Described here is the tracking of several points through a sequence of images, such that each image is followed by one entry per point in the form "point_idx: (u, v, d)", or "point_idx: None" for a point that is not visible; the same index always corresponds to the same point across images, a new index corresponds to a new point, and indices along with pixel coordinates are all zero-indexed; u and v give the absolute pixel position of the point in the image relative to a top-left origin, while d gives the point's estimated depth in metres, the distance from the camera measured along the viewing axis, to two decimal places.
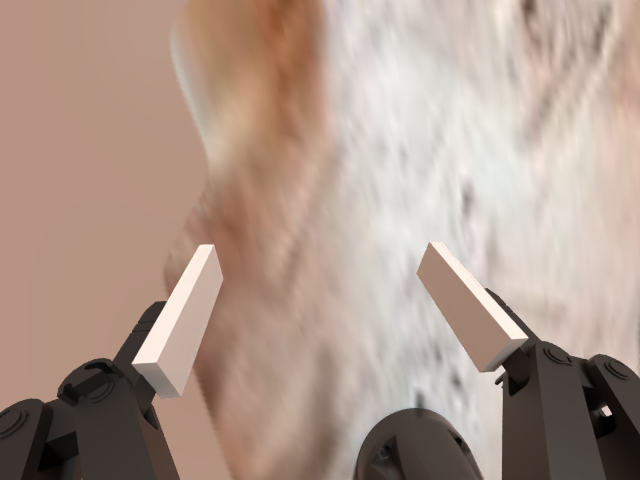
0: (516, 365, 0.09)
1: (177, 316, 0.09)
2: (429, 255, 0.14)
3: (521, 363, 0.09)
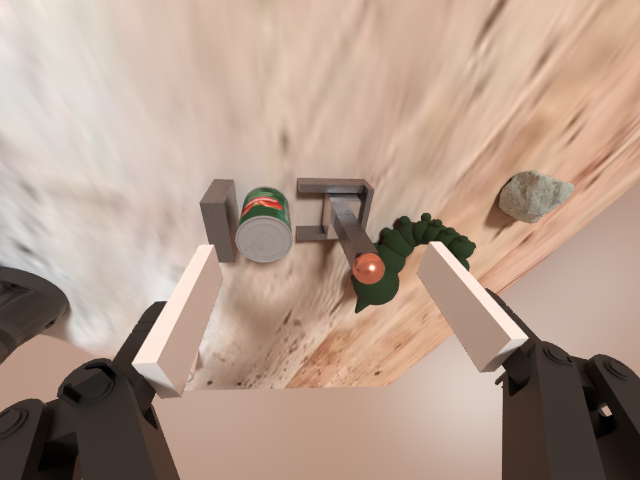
0: (516, 365, 0.09)
1: (177, 316, 0.09)
2: (429, 255, 0.14)
3: (521, 363, 0.09)
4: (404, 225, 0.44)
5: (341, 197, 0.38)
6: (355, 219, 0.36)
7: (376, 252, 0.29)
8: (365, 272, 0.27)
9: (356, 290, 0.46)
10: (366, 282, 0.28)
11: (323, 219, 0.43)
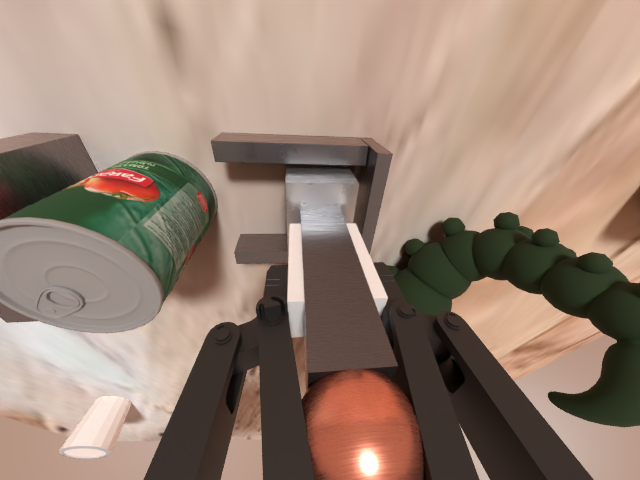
0: None
1: (301, 273, 0.11)
2: None
3: (386, 327, 0.10)
4: (453, 237, 0.22)
5: (314, 174, 0.16)
6: (342, 227, 0.15)
7: (391, 365, 0.08)
8: None
9: None
10: None
11: None
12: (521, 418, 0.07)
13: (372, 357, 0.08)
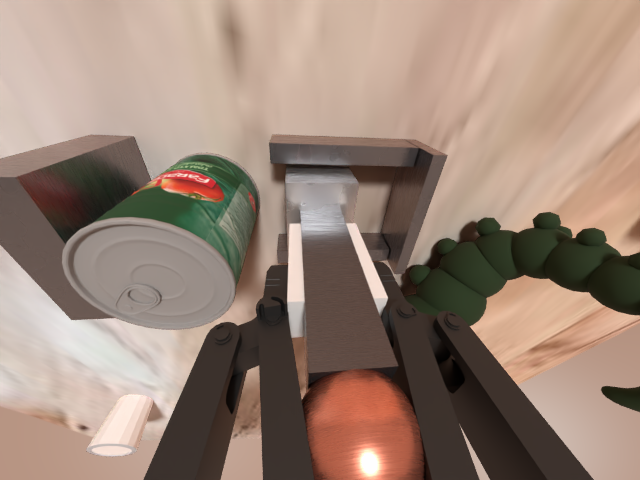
0: None
1: (301, 273, 0.11)
2: None
3: (386, 327, 0.10)
4: (490, 236, 0.22)
5: (314, 174, 0.16)
6: (342, 227, 0.15)
7: (392, 366, 0.08)
8: None
9: None
10: None
11: None
12: (521, 418, 0.07)
13: (372, 357, 0.08)
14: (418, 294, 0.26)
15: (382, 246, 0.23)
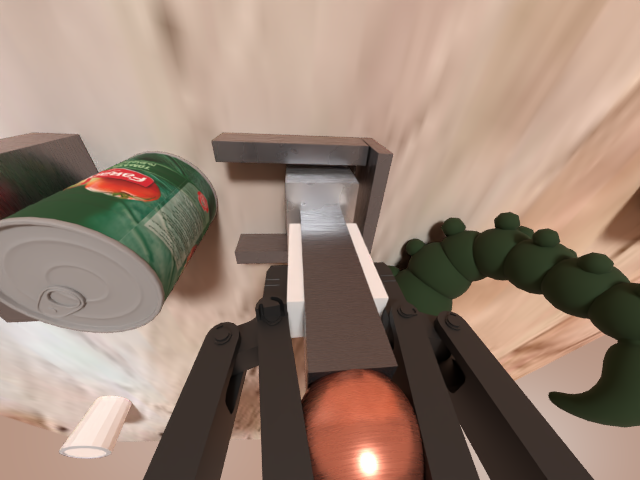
0: (385, 330, 0.10)
1: (301, 273, 0.11)
2: None
3: (387, 327, 0.10)
4: (454, 237, 0.22)
5: (314, 174, 0.16)
6: (342, 227, 0.15)
7: (391, 366, 0.08)
8: None
9: None
10: None
11: None
12: (522, 418, 0.07)
13: (372, 357, 0.08)
14: None
15: None
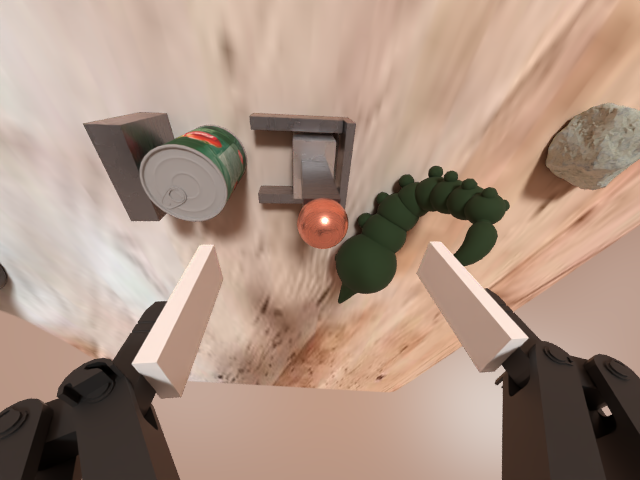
0: (516, 365, 0.09)
1: (177, 316, 0.09)
2: (429, 255, 0.14)
3: (521, 363, 0.09)
4: (405, 186, 0.32)
5: (310, 137, 0.27)
6: (325, 165, 0.25)
7: (338, 199, 0.18)
8: (309, 224, 0.16)
9: (338, 273, 0.35)
10: (314, 244, 0.17)
11: None
12: None
13: (330, 197, 0.18)
14: None
15: None
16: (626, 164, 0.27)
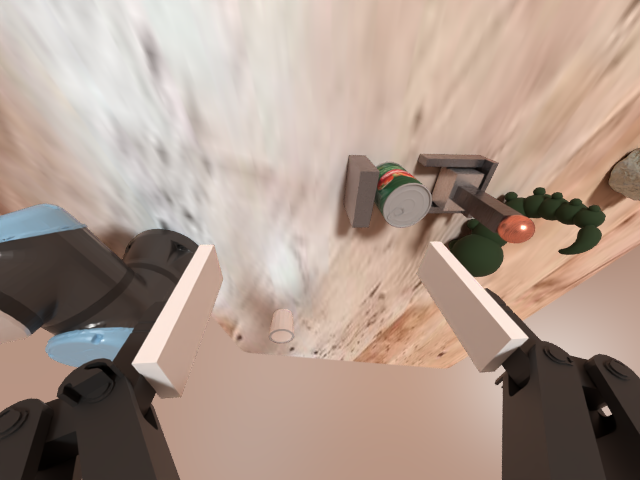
0: (516, 365, 0.09)
1: (177, 316, 0.09)
2: (429, 255, 0.14)
3: (521, 363, 0.09)
4: (512, 200, 0.46)
5: (463, 171, 0.41)
6: (480, 190, 0.39)
7: (521, 215, 0.32)
8: (519, 230, 0.30)
9: None
10: (517, 240, 0.31)
11: (434, 194, 0.46)
12: None
13: (516, 214, 0.32)
14: (473, 233, 0.50)
15: None
16: None
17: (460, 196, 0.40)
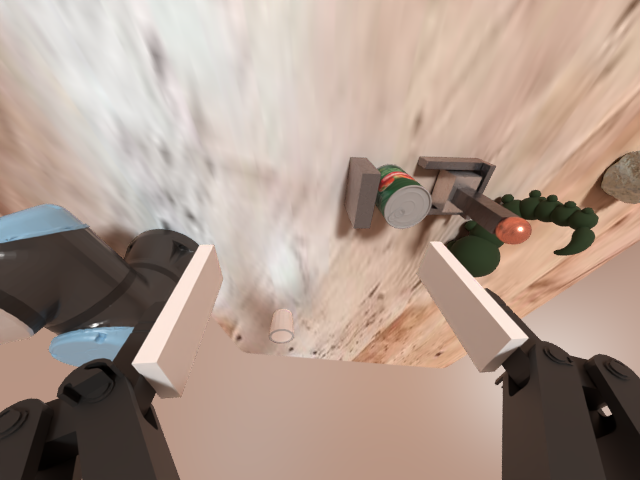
0: (516, 365, 0.09)
1: (177, 316, 0.09)
2: (429, 255, 0.14)
3: (521, 363, 0.09)
4: (509, 202, 0.47)
5: (461, 173, 0.42)
6: (478, 192, 0.40)
7: (518, 217, 0.33)
8: (516, 231, 0.31)
9: None
10: (514, 241, 0.32)
11: (433, 195, 0.47)
12: None
13: (513, 216, 0.33)
14: (471, 234, 0.51)
15: None
16: None
17: (459, 198, 0.41)
